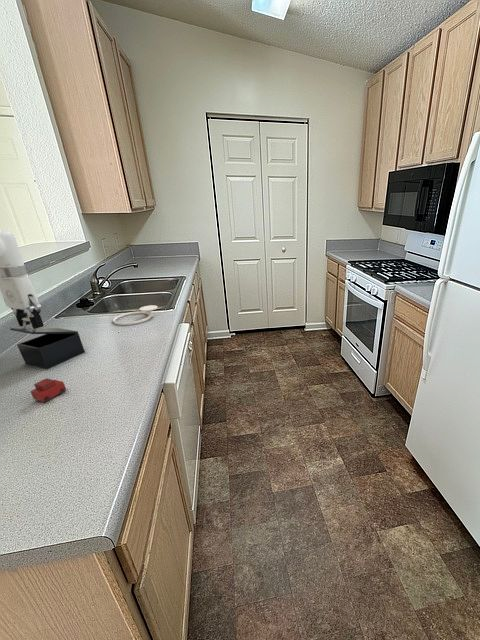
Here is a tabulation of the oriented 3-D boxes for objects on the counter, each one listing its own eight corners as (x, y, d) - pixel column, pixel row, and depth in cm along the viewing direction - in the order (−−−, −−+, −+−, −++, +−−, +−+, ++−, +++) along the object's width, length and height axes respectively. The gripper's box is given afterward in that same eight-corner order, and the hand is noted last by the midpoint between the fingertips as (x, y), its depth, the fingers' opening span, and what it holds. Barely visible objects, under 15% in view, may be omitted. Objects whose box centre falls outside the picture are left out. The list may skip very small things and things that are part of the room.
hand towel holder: (111, 308, 160) (156, 302, 167) (113, 316, 162) (158, 310, 169) (109, 318, 146) (159, 311, 154) (112, 327, 148) (161, 320, 156)
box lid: (32, 334, 108) (32, 318, 107) (10, 330, 111) (10, 314, 111) (78, 333, 122) (78, 319, 121) (57, 329, 125) (57, 316, 125)
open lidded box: (47, 369, 113) (38, 348, 110) (25, 364, 117) (16, 344, 114) (85, 352, 125) (78, 333, 122) (64, 348, 129) (57, 329, 126)
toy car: (43, 403, 94) (37, 388, 92) (34, 401, 96) (27, 386, 94) (67, 391, 100) (61, 377, 98) (58, 389, 102) (52, 374, 99)
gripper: (-19, 272, 104) (3, 327, 112) (16, 276, 98) (37, 333, 106) (7, 269, 111) (26, 320, 118) (42, 271, 105) (60, 325, 112)
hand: (31, 325), depth 112 cm, fingers closed on box lid, 6 cm apart
